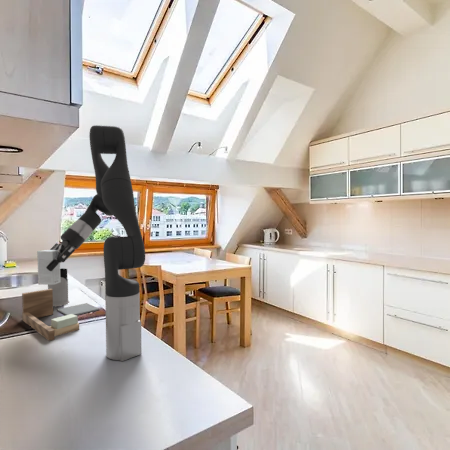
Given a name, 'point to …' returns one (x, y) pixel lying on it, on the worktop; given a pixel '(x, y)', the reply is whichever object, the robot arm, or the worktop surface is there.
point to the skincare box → (44, 274)
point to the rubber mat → (78, 309)
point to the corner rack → (38, 311)
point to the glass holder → (60, 290)
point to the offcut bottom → (65, 329)
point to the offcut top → (64, 321)
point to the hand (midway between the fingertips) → (44, 268)
